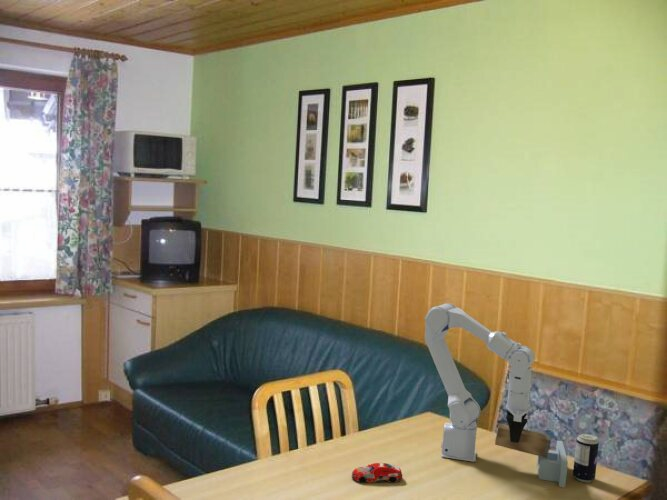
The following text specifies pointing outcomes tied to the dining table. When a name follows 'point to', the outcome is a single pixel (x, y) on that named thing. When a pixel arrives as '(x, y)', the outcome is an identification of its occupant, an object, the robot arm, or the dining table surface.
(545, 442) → the brown wooden block
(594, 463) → the beverage can
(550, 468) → the pale blue bench
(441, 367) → the robot arm
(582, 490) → the dining table surface
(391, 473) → the race car
